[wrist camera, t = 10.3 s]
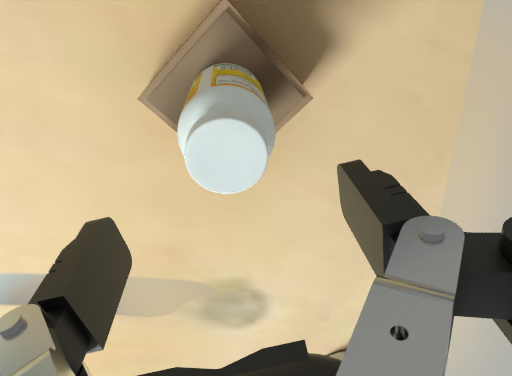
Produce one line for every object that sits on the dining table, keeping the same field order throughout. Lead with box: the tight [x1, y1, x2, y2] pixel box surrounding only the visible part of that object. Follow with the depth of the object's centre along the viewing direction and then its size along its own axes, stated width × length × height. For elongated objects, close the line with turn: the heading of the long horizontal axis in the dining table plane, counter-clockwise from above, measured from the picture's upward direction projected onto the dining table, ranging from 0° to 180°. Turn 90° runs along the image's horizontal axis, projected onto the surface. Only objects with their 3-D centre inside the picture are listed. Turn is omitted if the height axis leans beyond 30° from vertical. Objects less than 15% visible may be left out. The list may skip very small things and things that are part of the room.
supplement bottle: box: [177, 63, 275, 194], centre depth 20 cm, size 5×5×10 cm
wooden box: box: [138, 0, 313, 133], centre depth 26 cm, size 9×9×4 cm
